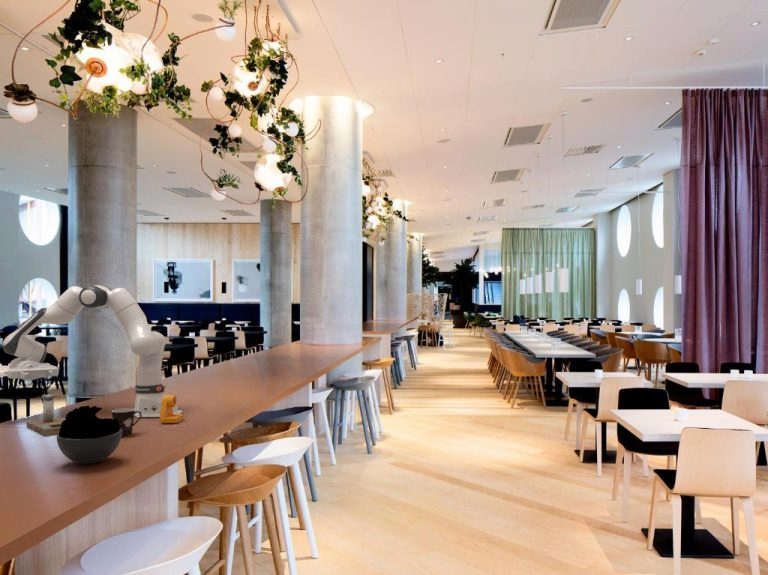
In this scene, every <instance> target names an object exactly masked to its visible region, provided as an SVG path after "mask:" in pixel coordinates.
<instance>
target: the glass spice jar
mask: <svg viewBox="0 0 768 575" xmlns="http://www.w3.org/2000/svg"><path fill="white" fill-rule="evenodd" d="M55 398H56V394H54V393H53V394H42V395H41V399H42V403H43V404H42V415H43V416H42V420H43V422H53V421H54V418H55V416H54V415H55V413H54V412H55V410H54V409H55V403H54V401H55V400H54V399H55Z"/></svg>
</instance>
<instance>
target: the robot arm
mask: <svg viewBox="0 0 768 575" xmlns="http://www.w3.org/2000/svg"><path fill="white" fill-rule="evenodd" d="M83 308H87V309H96V310H97V309H107V308H110V309H111V311H112V312H113V313H114V315H115V317H116V319H117V320H118V322H120V324H121V326H122V327H123V329H124V331H125V333H126V335H127V339H128V340H129V343H130V349H131V351H132V353H133V354H135V355H137V356H139V357H138V358H139V359H138V362H137V363H138V364H137V367H136V369H135V370H136V374H135V375H136V376H135V377H136V383H135V386H134V387H135V390H134V391H135V393H134V394H135V402H134V408H133V409H135V411H139V412H141V414H142V416H141V417H160V412H161V404H162V398H163V396H164V395H169V394H168V393H167V391H165V389H166V388H167V385H164V384H162V366H163V358H164V353H165V347H166V343H167V341H166V338H165V336H164V335H163V334H162V333H160V332H158V331H154V330H153V331H152V330H151V329H150V325H149V323H148V320H147V316H146V314H145V312H144V311H143V310H142V308H141V307H140V306H139V304H138V301H136V299H135V298H134V297H133V295H132V294H131V293H130V292H129V291H128V290H127V289H126V288H124V287H116V288H114V289H112V288H110V287H109V286H103V285H99V284H98V285H97V284H96V285H95V284H94V285H88V286H85V287H83V288H82V287H81V286H75V285H73V286H72V285H71V286H70V287H68V289H66V290H65V291H64V292H63V293H62V294H61V295H60V296H59V297H58V298H57V300H55V302H54V303H53V304H52V305H50V306H47V307H42V308H39V310H37V311H35V312H34V313H33V314H32V315H31V316H30V317H29V318H28V319H26V320H25V321H24V322H23V323H22V324H20V326H19V327H17V328H16V329H15V330H14V331H13V332H11V333H9V334H8V335H7V336H6V337H5V338H4V340H3V341H2V349H3V351H4V353H5V354H8V355H11V356H15V357H17V358H14V359H13V360H11V361H10V363H9V364H8V365H9V366H8V369H7V371H4V372H3V373H4V375H7V378H8V379H21V380H23V381H26V382H27V381H28V382H30V381H34V380H37V379H42V378H49V377H58V376H59V367H58V366H55V365H52V364H50V363H48V362H44V361H45V359H46V356H47V353H48V351H47V347H46V345H45V344H43V343H41V342H38V341H37V340H34V339H32V338H29V337H27V335H29V333H30V332H31V331H32V330H34V329H35V328H36V327H37V326H39V325H42V324H47V325H66V324H70V323H71V322H72V321H73V320H75V318H76V317H77V315H78V314H79V313H80V312H81V310H82V309H83ZM172 409H173V414H181V413H182V412H183V410H181V409H179V408H178V402H176V406H175V407H172ZM182 414H183V413H182ZM134 417H137V418H138V419H139V417H140V413H138V412H137V413H135V414H134ZM137 418H136V419H137Z"/></svg>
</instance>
